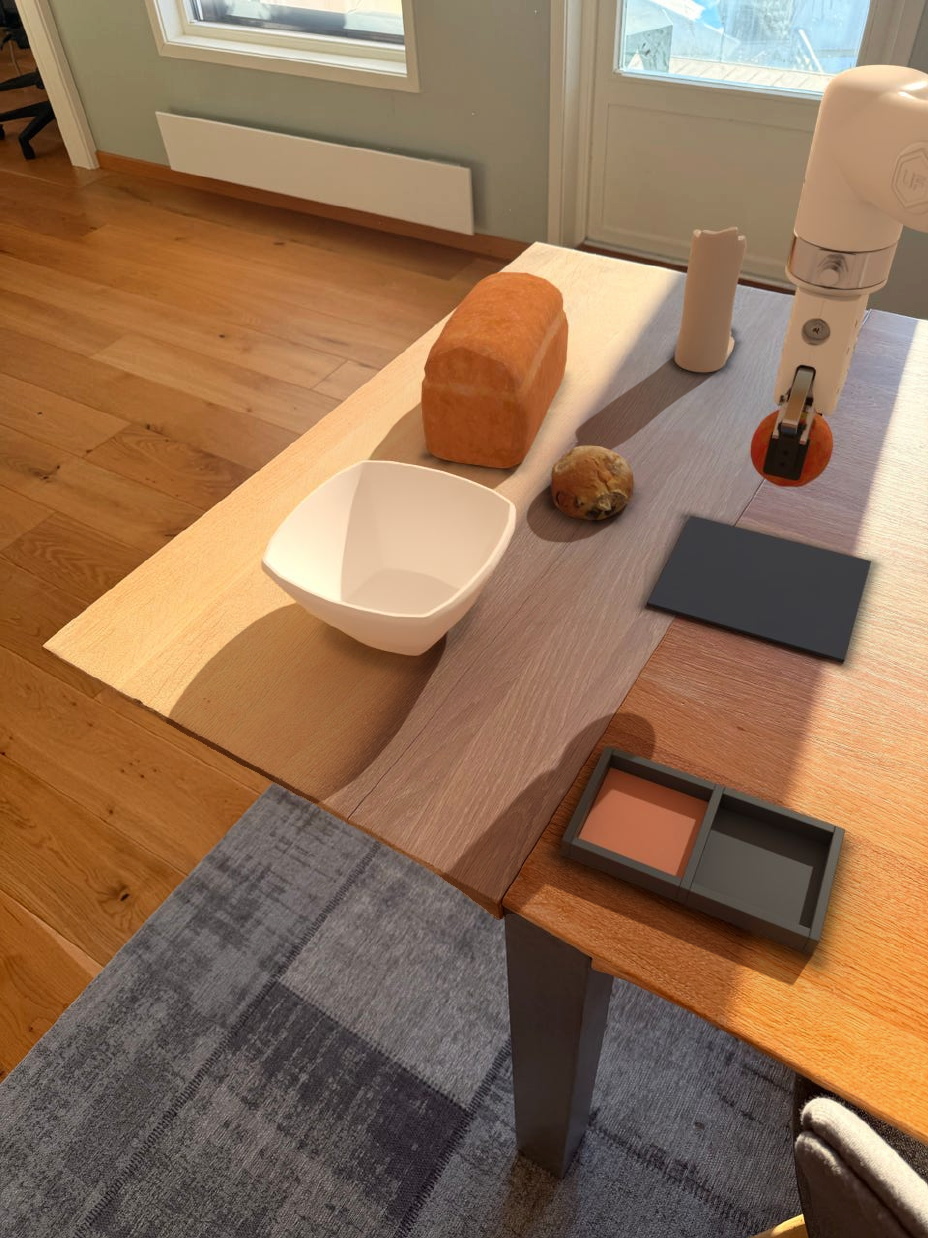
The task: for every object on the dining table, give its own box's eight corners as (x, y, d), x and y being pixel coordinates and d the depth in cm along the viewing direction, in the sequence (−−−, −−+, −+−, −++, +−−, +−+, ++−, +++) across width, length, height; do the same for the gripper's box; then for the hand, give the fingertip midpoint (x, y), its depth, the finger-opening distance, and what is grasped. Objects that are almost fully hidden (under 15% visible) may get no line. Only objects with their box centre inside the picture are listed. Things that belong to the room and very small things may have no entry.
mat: (870, 563, 99) (871, 560, 98) (843, 662, 89) (844, 660, 88) (690, 517, 106) (690, 515, 105) (646, 605, 96) (647, 602, 95)
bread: (571, 370, 130) (576, 261, 119) (522, 475, 113) (523, 359, 102) (479, 358, 134) (476, 252, 122) (418, 458, 116) (408, 345, 105)
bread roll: (632, 510, 113) (642, 445, 110) (624, 528, 103) (634, 459, 100) (554, 499, 115) (561, 435, 112) (539, 516, 105) (547, 448, 103)
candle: (742, 332, 136) (769, 194, 122) (717, 376, 127) (743, 233, 113) (695, 323, 138) (716, 187, 124) (668, 366, 130) (686, 225, 116)
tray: (838, 843, 75) (845, 828, 73) (812, 956, 68) (819, 942, 67) (604, 760, 82) (606, 744, 80) (560, 854, 75) (561, 840, 73)
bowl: (368, 527, 107) (355, 444, 98) (540, 581, 99) (542, 496, 91) (254, 652, 93) (229, 567, 85) (443, 726, 85) (435, 641, 77)
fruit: (835, 497, 81) (858, 420, 76) (760, 506, 81) (778, 430, 75) (803, 453, 86) (823, 378, 81) (733, 462, 86) (748, 387, 80)
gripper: (874, 314, 62) (814, 517, 75) (907, 220, 73) (850, 412, 86) (763, 296, 65) (724, 496, 77) (811, 208, 76) (770, 396, 88)
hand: (790, 450), depth 81 cm, fingers closed on fruit, 7 cm apart
